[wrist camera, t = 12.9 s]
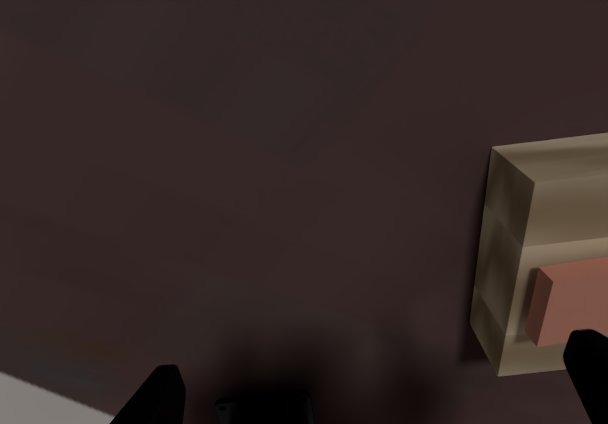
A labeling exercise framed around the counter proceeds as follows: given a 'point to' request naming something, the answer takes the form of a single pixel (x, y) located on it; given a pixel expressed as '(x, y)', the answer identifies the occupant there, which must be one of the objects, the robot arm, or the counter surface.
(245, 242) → the counter surface
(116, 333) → the counter surface
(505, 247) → the block
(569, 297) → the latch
